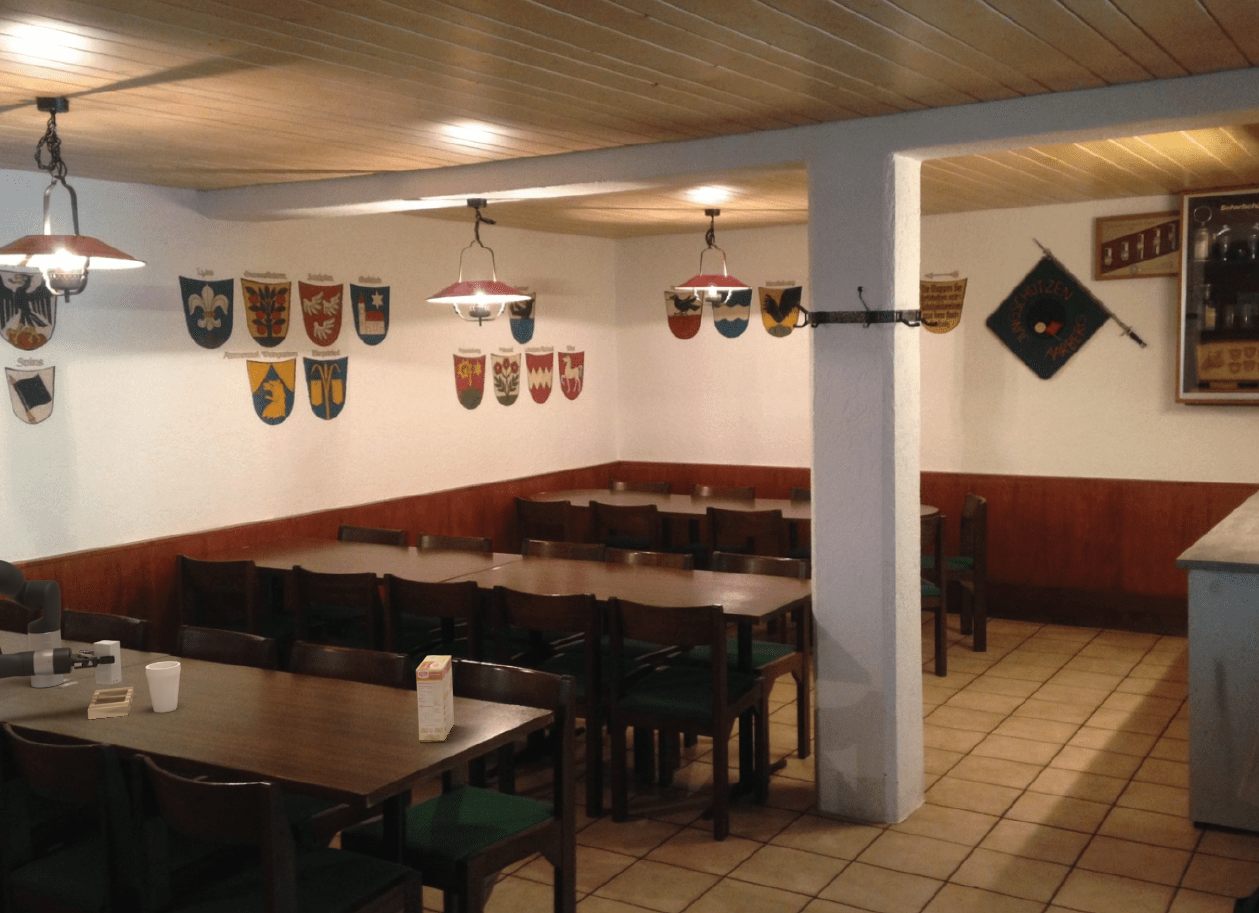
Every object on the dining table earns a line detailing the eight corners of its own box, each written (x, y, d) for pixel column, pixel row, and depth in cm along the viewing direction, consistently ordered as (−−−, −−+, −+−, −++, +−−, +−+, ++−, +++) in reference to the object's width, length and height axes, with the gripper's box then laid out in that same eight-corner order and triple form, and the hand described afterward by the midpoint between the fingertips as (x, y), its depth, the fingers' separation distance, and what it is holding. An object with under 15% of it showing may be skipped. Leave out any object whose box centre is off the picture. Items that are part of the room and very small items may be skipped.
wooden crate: (96, 700, 361) (95, 690, 361) (133, 696, 364) (133, 686, 364) (88, 720, 340) (87, 709, 340) (128, 716, 344) (127, 705, 343)
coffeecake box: (429, 725, 327) (426, 655, 326) (455, 725, 327) (452, 654, 325) (417, 743, 312) (414, 669, 311) (445, 742, 312) (442, 668, 310)
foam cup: (189, 706, 352) (187, 663, 351) (165, 715, 343) (162, 670, 342) (165, 703, 356) (163, 660, 355) (140, 712, 347) (138, 667, 346)
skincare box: (122, 681, 350) (120, 641, 349) (111, 685, 346) (109, 644, 345) (105, 680, 352) (103, 639, 351) (94, 683, 348) (92, 643, 347)
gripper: (48, 654, 337) (113, 649, 342) (55, 643, 350) (117, 638, 355) (50, 680, 337) (114, 675, 342) (57, 668, 351) (118, 663, 356)
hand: (115, 656), depth 349 cm, fingers closed on skincare box, 7 cm apart
